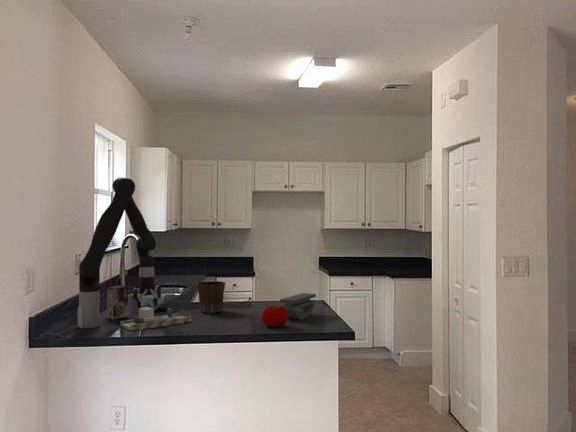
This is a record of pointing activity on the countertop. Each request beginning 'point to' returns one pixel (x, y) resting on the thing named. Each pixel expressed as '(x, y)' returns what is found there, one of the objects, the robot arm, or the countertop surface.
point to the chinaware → (151, 301)
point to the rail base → (139, 324)
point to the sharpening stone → (299, 305)
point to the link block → (146, 312)
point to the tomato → (274, 316)
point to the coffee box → (117, 302)
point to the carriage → (160, 317)
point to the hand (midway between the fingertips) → (147, 307)
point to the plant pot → (211, 296)
